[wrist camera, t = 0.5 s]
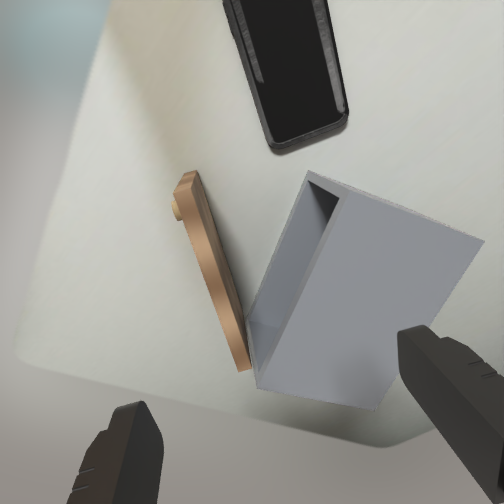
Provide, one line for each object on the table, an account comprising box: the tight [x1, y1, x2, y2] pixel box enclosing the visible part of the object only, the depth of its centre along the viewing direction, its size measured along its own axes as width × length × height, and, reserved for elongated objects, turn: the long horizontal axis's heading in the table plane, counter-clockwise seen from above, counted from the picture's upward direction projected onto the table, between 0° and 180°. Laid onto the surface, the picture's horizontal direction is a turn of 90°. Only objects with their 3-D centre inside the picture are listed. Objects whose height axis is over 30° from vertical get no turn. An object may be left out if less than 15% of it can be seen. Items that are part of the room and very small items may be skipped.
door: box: [171, 170, 252, 372], centre depth 28 cm, size 16×2×9 cm, turn 15°
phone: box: [223, 0, 349, 149], centre depth 26 cm, size 8×1×15 cm
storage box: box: [246, 170, 485, 411], centre depth 30 cm, size 12×18×10 cm, turn 160°
